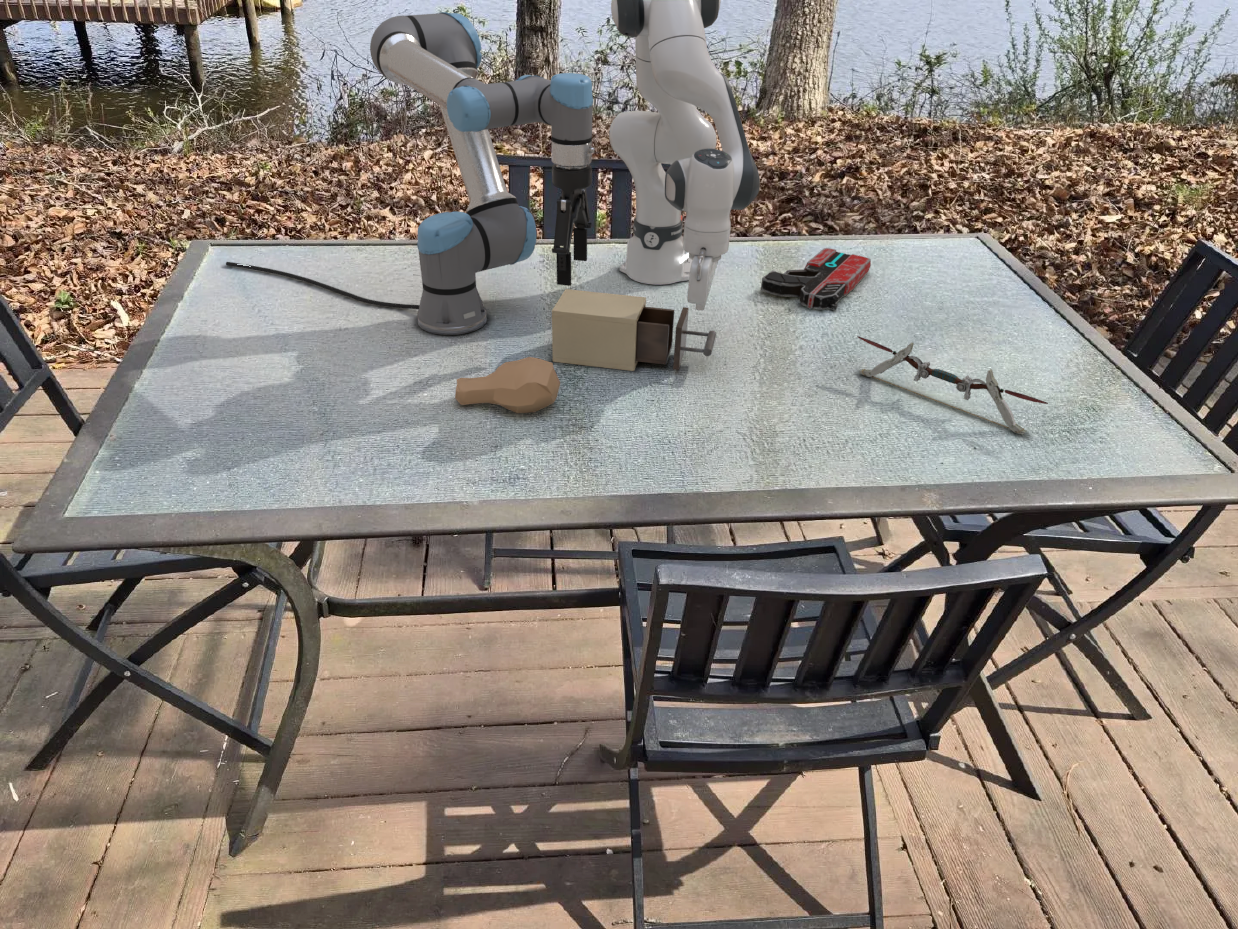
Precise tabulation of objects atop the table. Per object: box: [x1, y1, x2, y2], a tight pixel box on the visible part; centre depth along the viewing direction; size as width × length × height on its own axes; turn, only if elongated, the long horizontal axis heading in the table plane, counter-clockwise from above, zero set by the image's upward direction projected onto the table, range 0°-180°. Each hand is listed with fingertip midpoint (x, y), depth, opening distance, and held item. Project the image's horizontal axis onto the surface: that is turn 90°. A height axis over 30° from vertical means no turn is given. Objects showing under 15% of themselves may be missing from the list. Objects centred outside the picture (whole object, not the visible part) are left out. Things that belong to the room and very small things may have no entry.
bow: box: [856, 335, 1049, 435], centre depth 169 cm, size 39×2×10 cm, turn 47°
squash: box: [454, 356, 561, 414], centre depth 164 cm, size 11×20×9 cm, turn 90°
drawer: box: [635, 306, 717, 371], centre depth 180 cm, size 22×10×9 cm, turn 79°
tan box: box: [551, 288, 647, 372], centre depth 182 cm, size 17×12×12 cm, turn 79°
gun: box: [760, 247, 872, 311], centre depth 219 cm, size 4×31×19 cm
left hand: (572, 272), depth 176 cm, fingers open, 13 cm apart
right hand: (700, 307), depth 175 cm, fingers closed
